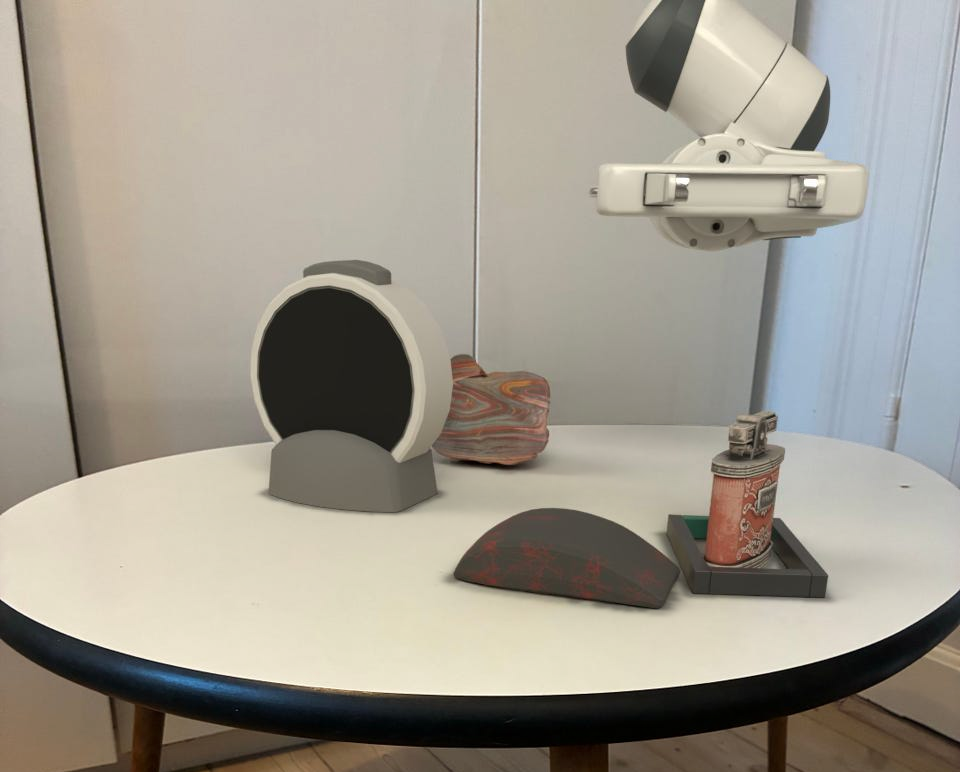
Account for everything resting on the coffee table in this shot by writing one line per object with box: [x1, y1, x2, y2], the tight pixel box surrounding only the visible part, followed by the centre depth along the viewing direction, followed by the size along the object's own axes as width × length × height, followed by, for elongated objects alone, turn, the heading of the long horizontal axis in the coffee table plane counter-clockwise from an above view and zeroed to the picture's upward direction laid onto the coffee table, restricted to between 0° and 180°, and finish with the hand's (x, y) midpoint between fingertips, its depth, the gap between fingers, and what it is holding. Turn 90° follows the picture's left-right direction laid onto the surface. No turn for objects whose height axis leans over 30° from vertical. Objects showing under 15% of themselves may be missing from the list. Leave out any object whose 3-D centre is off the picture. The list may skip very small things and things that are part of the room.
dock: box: [666, 514, 829, 598], centre depth 69 cm, size 8×13×2 cm, turn 177°
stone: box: [431, 353, 551, 466], centre depth 96 cm, size 13×8×10 cm
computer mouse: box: [453, 507, 681, 609], centre depth 65 cm, size 8×14×4 cm, turn 71°
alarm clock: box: [249, 259, 453, 513], centre depth 82 cm, size 16×10×18 cm, turn 65°
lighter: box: [703, 410, 786, 568], centre depth 68 cm, size 8×3×10 cm, turn 145°
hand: (746, 188), depth 72 cm, fingers open, 8 cm apart
